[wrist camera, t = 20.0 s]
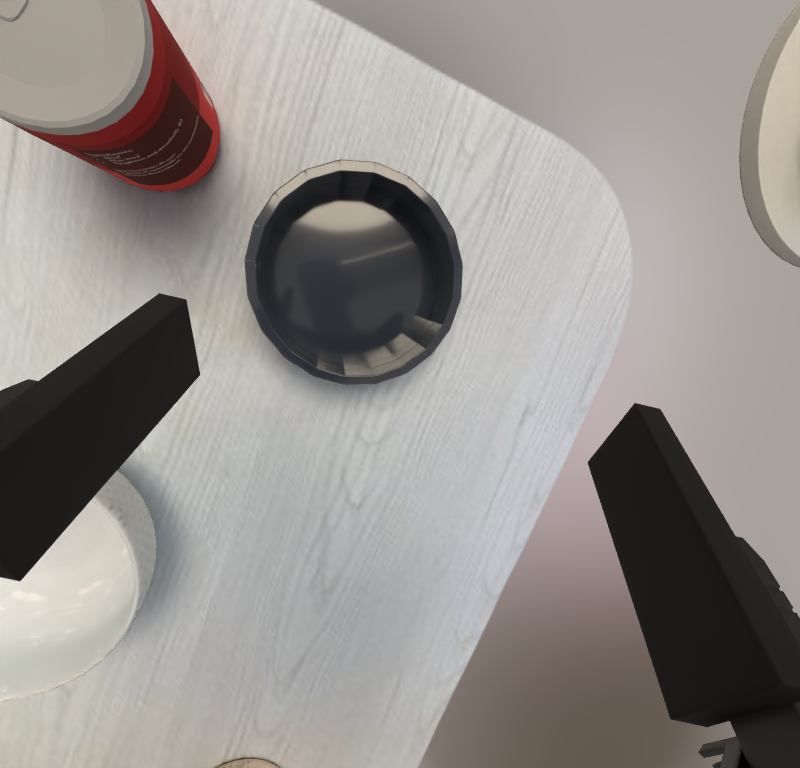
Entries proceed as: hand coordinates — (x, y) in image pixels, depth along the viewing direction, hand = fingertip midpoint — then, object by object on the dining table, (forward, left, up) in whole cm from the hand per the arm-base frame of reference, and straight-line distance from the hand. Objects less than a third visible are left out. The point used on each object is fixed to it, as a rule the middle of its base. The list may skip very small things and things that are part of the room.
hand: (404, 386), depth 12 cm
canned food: (+12, -12, -18) cm, 25 cm away
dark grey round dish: (0, -3, -18) cm, 18 cm away
